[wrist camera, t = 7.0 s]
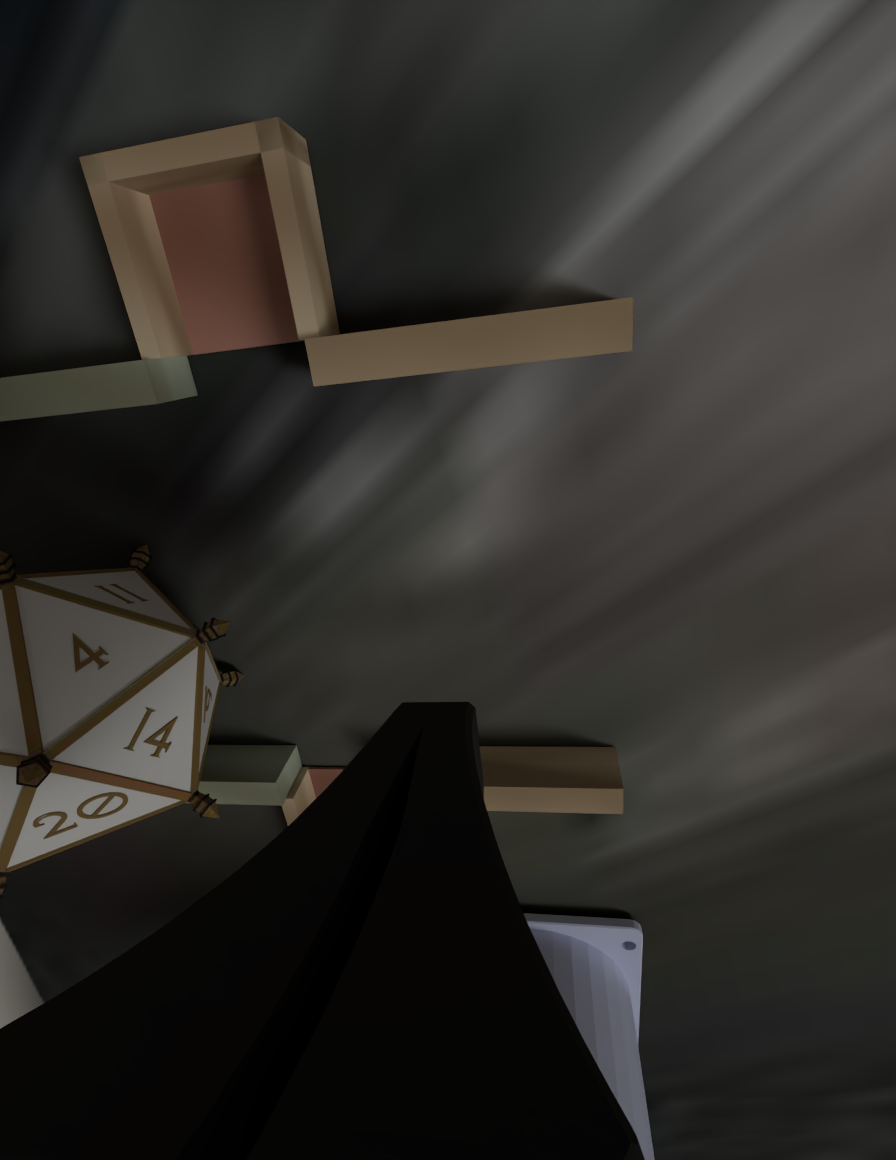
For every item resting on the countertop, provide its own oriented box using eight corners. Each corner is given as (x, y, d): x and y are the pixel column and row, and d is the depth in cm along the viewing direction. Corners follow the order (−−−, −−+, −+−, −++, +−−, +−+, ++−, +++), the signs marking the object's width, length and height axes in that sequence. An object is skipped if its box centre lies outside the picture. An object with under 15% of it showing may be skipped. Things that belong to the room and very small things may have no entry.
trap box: (613, 856, 20) (626, 939, 17) (81, 836, 24) (23, 901, 21) (622, 78, 11) (651, -1, 8) (-230, 243, 15) (-399, 224, 12)
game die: (244, 546, 21) (285, 569, 12) (231, 764, 22) (262, 941, 13) (-62, 526, 17) (-339, 537, 8) (-66, 791, 18) (-326, 1072, 9)
